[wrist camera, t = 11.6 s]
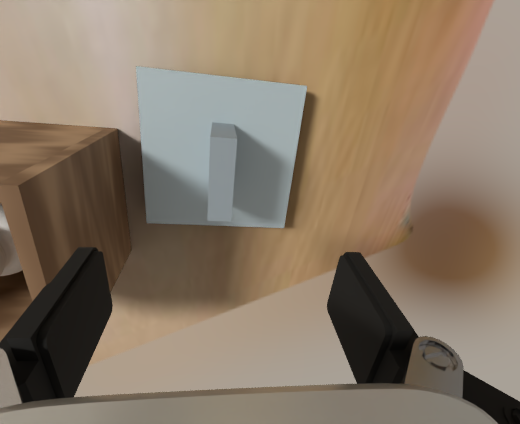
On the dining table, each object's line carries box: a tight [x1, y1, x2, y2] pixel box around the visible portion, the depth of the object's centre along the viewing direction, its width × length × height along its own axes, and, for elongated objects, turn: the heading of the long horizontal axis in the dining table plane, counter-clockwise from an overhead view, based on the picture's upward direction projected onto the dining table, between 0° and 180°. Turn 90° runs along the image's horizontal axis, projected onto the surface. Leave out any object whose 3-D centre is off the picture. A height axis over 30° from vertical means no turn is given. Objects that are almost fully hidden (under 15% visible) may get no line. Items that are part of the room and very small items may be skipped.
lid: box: [136, 66, 307, 228], centre depth 27 cm, size 15×15×9 cm
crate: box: [0, 120, 131, 342], centre depth 23 cm, size 14×14×16 cm
